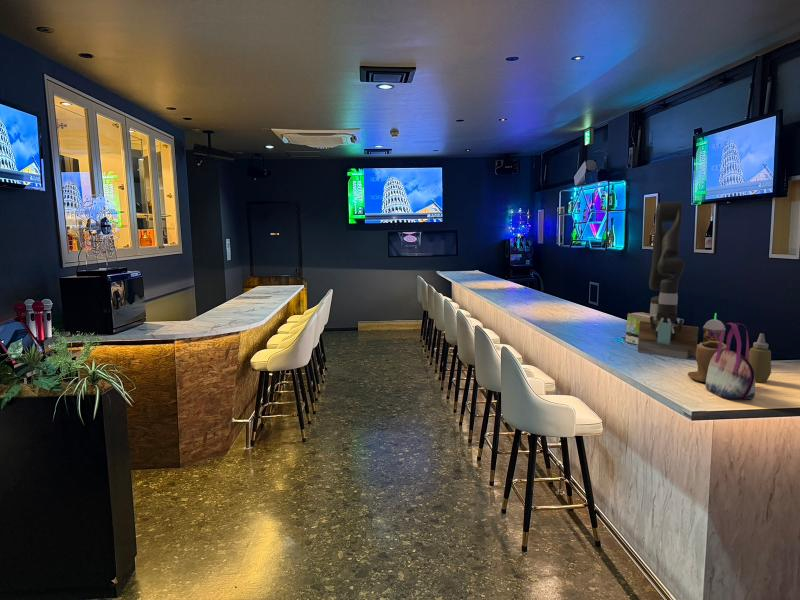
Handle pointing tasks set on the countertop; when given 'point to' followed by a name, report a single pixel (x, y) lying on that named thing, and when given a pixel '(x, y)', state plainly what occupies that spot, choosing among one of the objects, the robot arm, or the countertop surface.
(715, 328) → the smoothie
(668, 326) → the cabinet
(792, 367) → the countertop surface
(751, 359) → the squeeze bottle
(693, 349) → the wall board
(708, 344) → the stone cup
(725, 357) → the handbag
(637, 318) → the tea box
